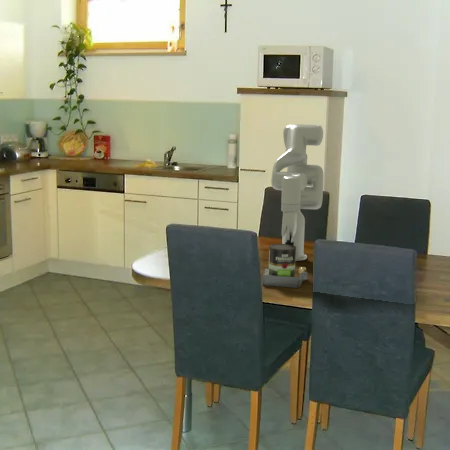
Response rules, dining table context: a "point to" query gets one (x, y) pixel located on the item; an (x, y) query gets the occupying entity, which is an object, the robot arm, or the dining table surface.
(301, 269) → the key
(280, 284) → the bracket
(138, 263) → the dining table surface
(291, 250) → the coffee can
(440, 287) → the dining table surface
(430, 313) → the dining table surface
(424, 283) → the dining table surface
